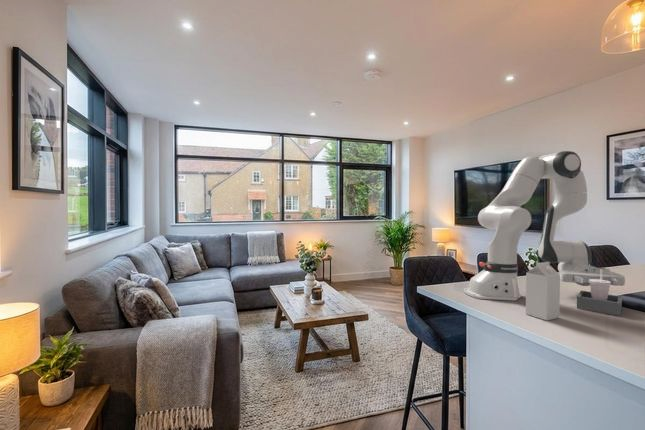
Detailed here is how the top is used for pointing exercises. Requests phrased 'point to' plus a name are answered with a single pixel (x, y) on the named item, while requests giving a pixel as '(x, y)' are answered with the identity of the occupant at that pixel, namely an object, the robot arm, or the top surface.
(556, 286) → the milk carton
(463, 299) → the top surface
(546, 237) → the robot arm
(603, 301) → the bin
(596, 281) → the smoothie
